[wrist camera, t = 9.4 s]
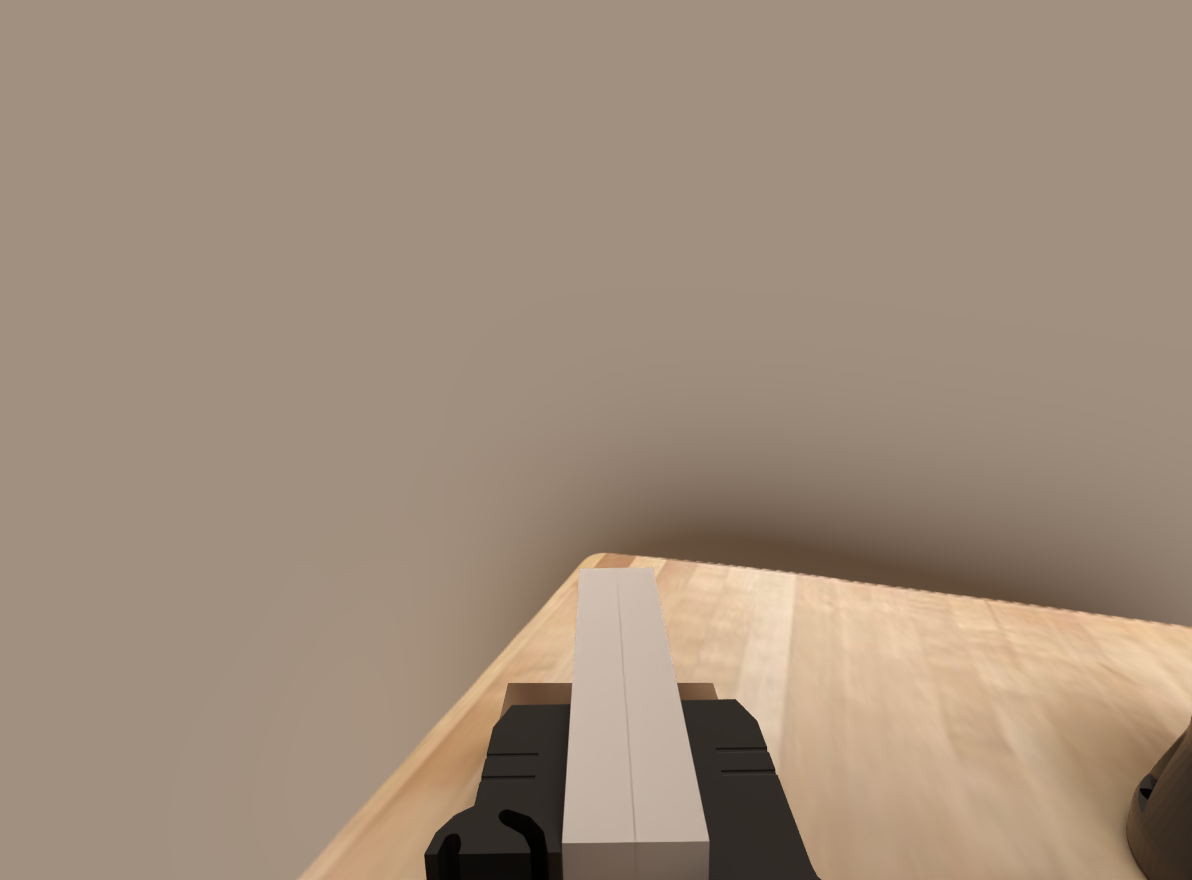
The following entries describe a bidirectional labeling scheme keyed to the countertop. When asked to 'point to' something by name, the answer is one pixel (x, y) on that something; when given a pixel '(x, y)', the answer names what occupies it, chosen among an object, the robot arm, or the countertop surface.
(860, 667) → the countertop surface
